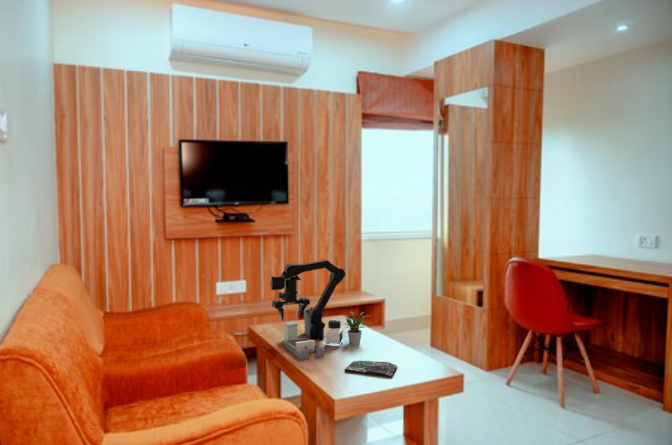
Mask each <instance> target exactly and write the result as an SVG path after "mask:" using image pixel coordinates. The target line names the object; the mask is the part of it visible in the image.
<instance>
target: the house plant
mask: <svg viewBox="0 0 672 445" xmlns="http://www.w3.org/2000/svg"><path fill="white" fill-rule="evenodd" d="M350 313H351V315H352V317H353V318H352V319H351V318H350V316H349V315H348V314H346V313H344V315H345V320H346V323H345V327H344V329H345V328H348V330H347V336H348V342H349V345H352V346H353V345H354V346H357V345H360V343H361V339H362V330H361V328H366V327H365V326H366V324H362V322H363V321H364V319H365V318H367V317H370V316H371V315H363V314H364V311H363V312H362V311H361V312H360V314H358V316H357V318H356V314H355V312H353V311H351V312H350ZM361 316H362V317H361Z"/></svg>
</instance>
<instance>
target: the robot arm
mask: <svg viewBox="0 0 672 445" xmlns="http://www.w3.org/2000/svg"><path fill="white" fill-rule="evenodd" d="M321 269H326V270H327V271H328V272H330V273H329V277H328V282H327V283H326V286H325V288H324V290H323V292H322V294H321V296H320V297H319V299H318V301H317V303H316V304H315V306H314V307H312V306H310V305H311V301H310V298H308V297H304V296H303V297H299V298H298V296H297V294H298V293H299V292H298V291H297V289H298V288H297V287H298V286H297V284H298V283H297V282H298V281H301V280H302V279H301V277H299V275H301V274H303V273H305V272H310V271H311V272H312V271H317V270H321ZM345 277H346V272H345V269H343V268H341V267H339V266H336V265H334V264H332V262H331V261H329V260H328V259H322V260H316V261H312V262H307V263H286V264H285V266H284V270H283V271H282V273H281V274H280V275H279V276H276V275H275V276H270V282H269V286H270V291H279V290H280V291H281V292H280V291H279V292H278V294H277V296H278V299H275V300H272V302H271V307H272V308H274V309H276V310H277V311H278V313H279V316H280V319H281V321H284V317H285V316H284V313H285V312H284V306H287V305H288V306H291V305H298V319H301V318H302V316H303V314H304V311H305V310H306V308H307V307H308V306H310V308H309V309H310V310H309V312H308V313H307V314H308V315H307V320H308V321H309V322H310V323H311V325H312V327H311V329H310V335H309V339H310V340H315V341H324V339H325V338H326V335H325V328H326V324H325V322H324V321H323V315H324V310H325V308H326V306H327V304H328V302H329V300H330V298H331V297H332V295H333V293H334V291H335V289H336V288H337V286H338V285H339V284H340V283H341V282H342V281H343V280H344V278H345ZM283 289H284V291H282V290H283ZM283 292H284V293H283ZM280 299H281V300H280ZM321 319H322V321H321Z"/></svg>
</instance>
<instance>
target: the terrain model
mask: <svg viewBox="0 0 672 445" xmlns="http://www.w3.org/2000/svg"><path fill="white" fill-rule="evenodd" d="M397 369H398V365H396V364H394V363H391V362H389V361H372V360H353V361H352V362H351V363H350V364H348V366H346V367H345V368H344V373H348V374H356V375H363V376H364V375H366V376H371V377H378V378H379V377H381V378H387V379H392V378H393V377H394V375H395V373H396V371H397Z"/></svg>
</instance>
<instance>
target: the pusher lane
mask: <svg viewBox="0 0 672 445" xmlns="http://www.w3.org/2000/svg"><path fill="white" fill-rule="evenodd" d="M308 340H310V337H306V336H305V337H300V338H298V337H297V339H291V340H284V345H283V346H284V347H285V348H286V349H287V350H288V351H289V352H291V353H292V354H293V355H294V356H295V357H297V358H298V359H299V360H308V359H309V357H310V352H309V350H308V349H307V350H302V352H301V351H300V350H298V349H297V348H296V342H301V341H308ZM325 351H326V350H325V349H324V347H321V346H320V345H319V344H317V343H316V342H315V351H314V352H315V358H321V357H325V354H326V353H325Z"/></svg>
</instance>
